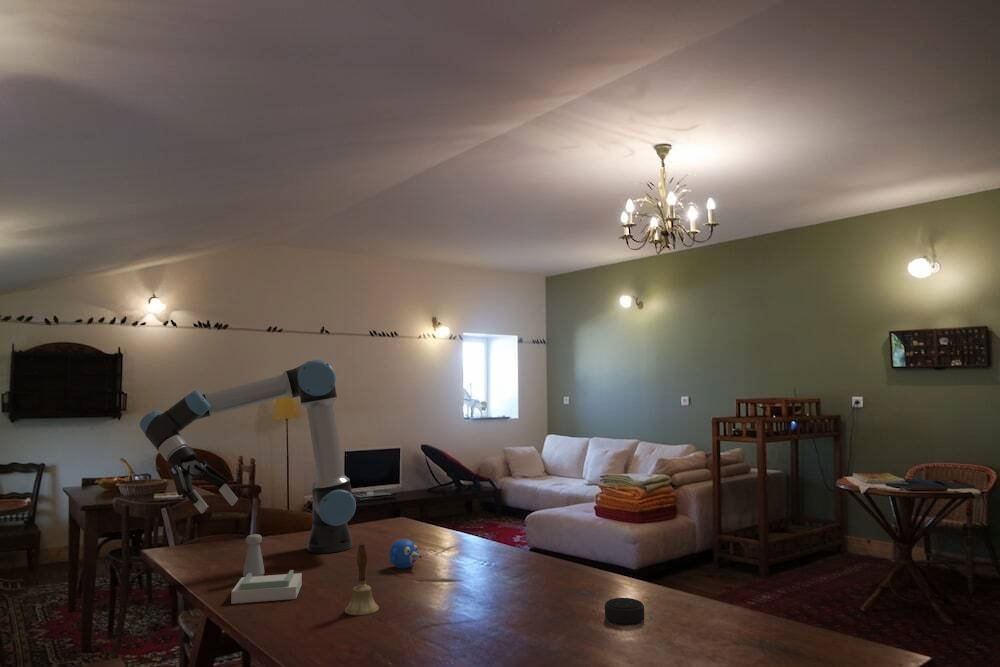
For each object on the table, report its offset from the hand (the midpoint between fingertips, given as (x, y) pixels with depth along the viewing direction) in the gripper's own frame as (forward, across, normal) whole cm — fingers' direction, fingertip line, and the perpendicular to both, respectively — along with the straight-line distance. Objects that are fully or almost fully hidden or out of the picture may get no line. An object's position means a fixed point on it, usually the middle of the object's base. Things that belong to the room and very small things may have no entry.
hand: (220, 506), depth 199 cm
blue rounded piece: (+50, -21, +21) cm, 58 cm away
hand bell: (+53, +18, +24) cm, 61 cm away
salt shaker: (+23, 0, -7) cm, 24 cm away
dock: (+31, +10, +1) cm, 32 cm away
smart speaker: (+97, +14, +69) cm, 120 cm away
